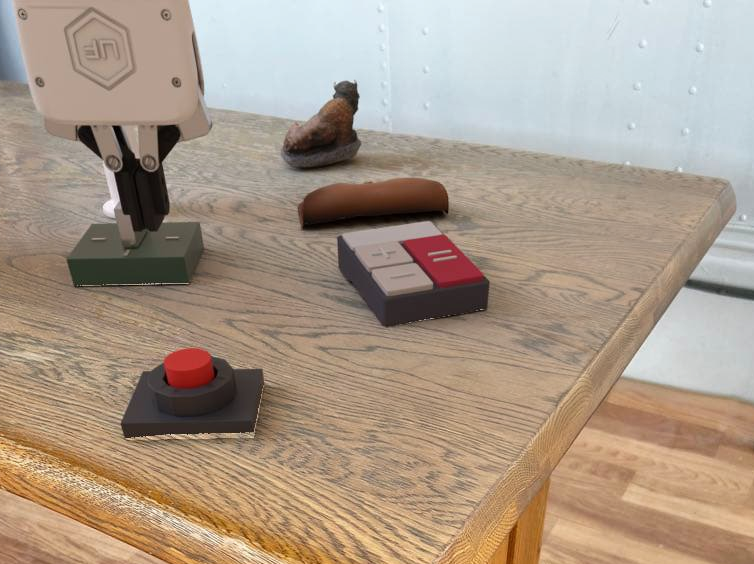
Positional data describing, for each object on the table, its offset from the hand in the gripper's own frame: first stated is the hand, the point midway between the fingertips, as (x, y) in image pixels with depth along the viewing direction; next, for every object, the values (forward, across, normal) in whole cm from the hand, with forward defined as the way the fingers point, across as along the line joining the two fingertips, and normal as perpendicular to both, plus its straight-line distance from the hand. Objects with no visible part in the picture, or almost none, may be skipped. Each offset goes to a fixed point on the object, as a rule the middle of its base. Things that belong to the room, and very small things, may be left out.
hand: (149, 224), depth 57 cm
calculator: (+15, +19, +21) cm, 32 cm away
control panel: (+15, -10, +28) cm, 33 cm away
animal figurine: (+15, +8, +64) cm, 66 cm away
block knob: (+12, -10, +28) cm, 32 cm away
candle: (+15, -15, +46) cm, 51 cm away
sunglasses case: (+15, +15, +43) cm, 48 cm away
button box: (+14, +1, -2) cm, 15 cm away
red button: (+11, +1, -2) cm, 12 cm away
